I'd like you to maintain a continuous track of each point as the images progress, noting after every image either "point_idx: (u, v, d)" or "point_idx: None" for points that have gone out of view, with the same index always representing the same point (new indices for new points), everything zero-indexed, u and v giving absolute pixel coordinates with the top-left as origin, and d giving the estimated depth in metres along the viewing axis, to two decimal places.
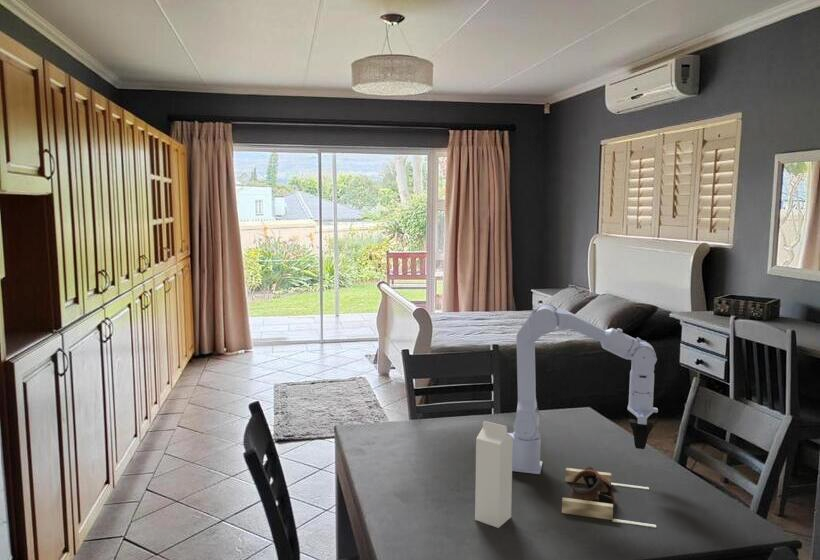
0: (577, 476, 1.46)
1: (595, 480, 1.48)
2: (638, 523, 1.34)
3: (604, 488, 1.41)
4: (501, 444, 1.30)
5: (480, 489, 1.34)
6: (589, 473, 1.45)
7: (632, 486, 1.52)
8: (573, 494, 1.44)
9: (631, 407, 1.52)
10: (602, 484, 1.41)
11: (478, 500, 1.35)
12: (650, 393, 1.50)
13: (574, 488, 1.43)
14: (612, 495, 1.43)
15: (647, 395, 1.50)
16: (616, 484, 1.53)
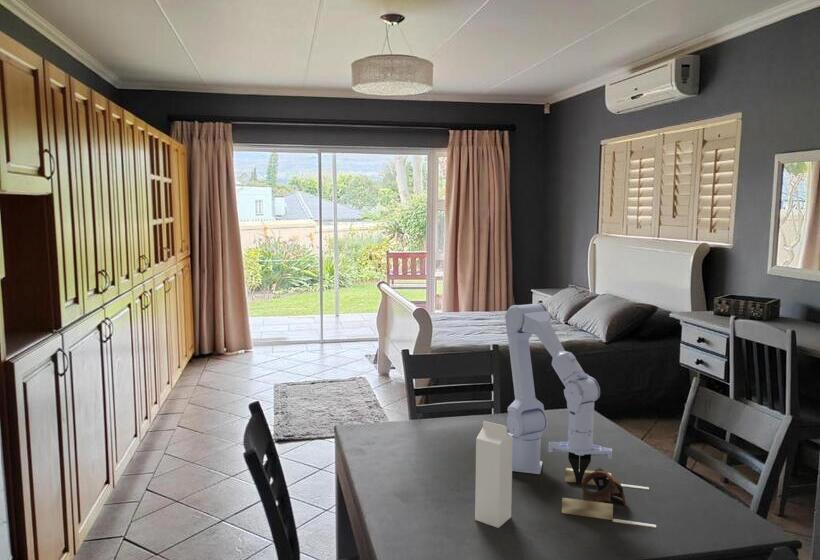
0: (588, 477, 1.45)
1: (605, 481, 1.47)
2: (638, 523, 1.34)
3: (616, 489, 1.40)
4: (501, 444, 1.30)
5: (480, 489, 1.34)
6: (600, 474, 1.44)
7: (632, 486, 1.52)
8: (584, 496, 1.42)
9: None
10: (614, 485, 1.40)
11: (478, 500, 1.35)
12: (571, 430, 1.43)
13: (585, 490, 1.42)
14: (623, 497, 1.42)
15: (569, 431, 1.44)
16: None
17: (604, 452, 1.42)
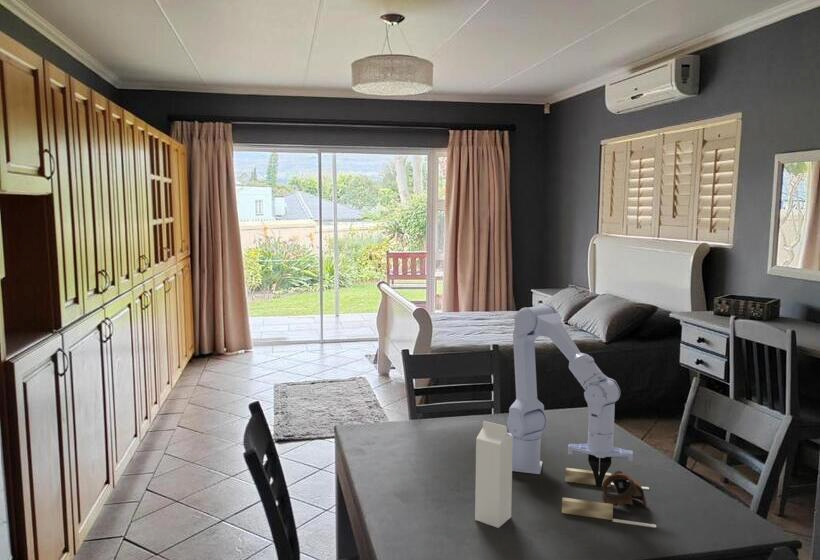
0: (608, 480, 1.43)
1: (625, 484, 1.45)
2: (638, 523, 1.34)
3: (637, 492, 1.38)
4: (501, 444, 1.30)
5: (480, 489, 1.34)
6: (620, 477, 1.43)
7: None
8: (605, 499, 1.41)
9: None
10: (635, 488, 1.39)
11: (478, 500, 1.35)
12: (591, 432, 1.42)
13: (606, 493, 1.40)
14: (644, 499, 1.41)
15: (589, 433, 1.43)
16: None
17: (625, 454, 1.41)
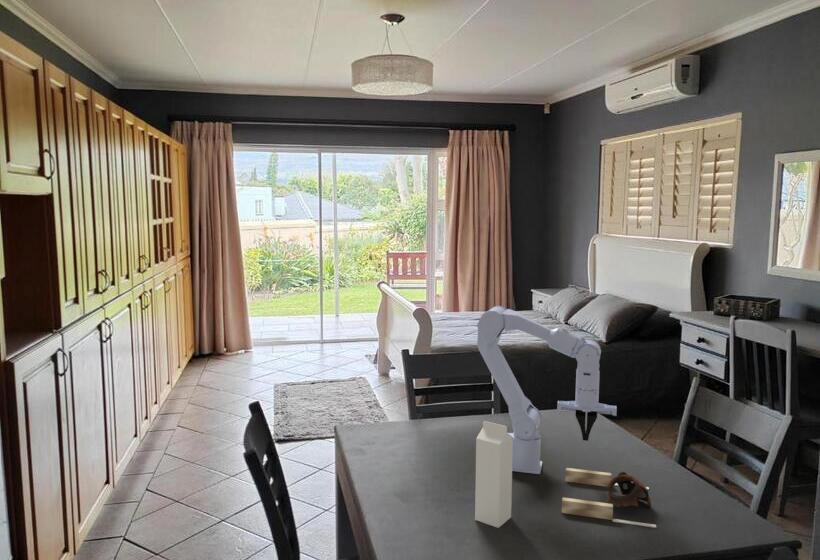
0: (613, 482, 1.43)
1: (630, 485, 1.45)
2: (638, 523, 1.34)
3: (642, 493, 1.38)
4: (501, 444, 1.30)
5: (480, 489, 1.34)
6: (625, 478, 1.43)
7: None
8: (610, 500, 1.41)
9: None
10: (640, 489, 1.38)
11: (478, 500, 1.35)
12: (578, 389, 1.54)
13: (611, 494, 1.40)
14: (649, 500, 1.40)
15: (576, 390, 1.55)
16: (616, 484, 1.53)
17: (609, 409, 1.53)
